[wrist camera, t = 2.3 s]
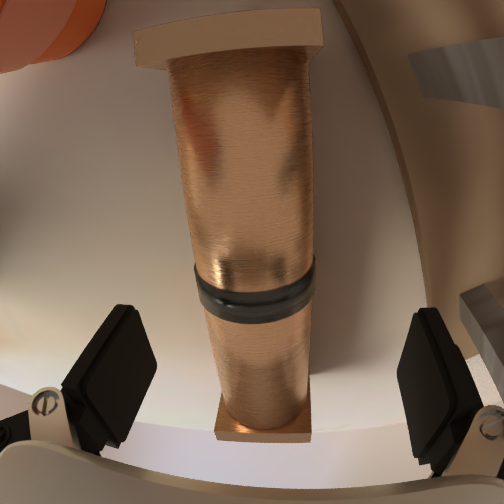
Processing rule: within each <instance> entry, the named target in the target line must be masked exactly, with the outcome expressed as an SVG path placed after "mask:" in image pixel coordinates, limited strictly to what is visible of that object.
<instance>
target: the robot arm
mask: <svg viewBox="0 0 504 504" xmlns="http://www.w3.org/2000/svg"><path fill="white" fill-rule="evenodd" d="M156 370H157V362H156V359H155V357H154V354H153V351H152V349H151V346H150V343H149V340H148V338H147V335H146V332H145V329H144V326H143V323H142V320H141V317H140V314H139V312H138V310H136V309H135V308H134V307H133V306H132V305H123V304H117V305H116V306H115V307H114V308H113V310H112V311H111V312H110V314H109V315H108V317H107V318H106V319H105V321H104V322H103V324H102V325H101V326H100V328H99V329H98V331H97V332H96V333H95V335H94V336H93V338H92V339H91V341H90V342H89V343H88V345H87V346H86V348H85V349H84V351H83V352H82V354H81V355H80V357H79V358H78V360H77V361H76V363H75V364H74V366H73V367H72V369H71V370H70V372H69V373H68V375H67V376H66V378H65V379H64V381H63V382H62V384H61V386H62V389H61V391H60V390H59V389H57V388H54V387H45V388H42V389H40V390H38V391H37V392H36V393H34V394H33V396H32V397H31V399H30V401H29V403H28V410H26V411H24V412H21V413H19V414H16V415H14V416H12V417H9V418H6V419H3V420H1V421H0V504H504V409H503V408H502V407H499V406H496V405H488V406H485V407H484V406H483V403H482V400H481V398H480V395H479V393H478V390H477V388H476V385H475V383H474V380H473V378H472V375H471V373H470V371H469V368H468V366H467V364H466V361H465V359H464V357H463V355H462V353H461V350H460V348H459V347H458V345H456V344H454V342H453V340H452V337H451V335H450V333H449V331H448V329H447V327H446V325H445V323H444V321H443V319H442V317H441V315H440V313H439V311H438V309H437V308H436V307H428V308H420V309H419V310H418V313H414V314H413V317H412V321H411V325H410V328H409V332H408V335H407V339H406V342H405V346H404V349H403V352H402V355H401V358H400V361H399V365H398V368H397V379H398V383H399V388H400V392H401V396H402V401H403V405H404V410H405V415H406V420H407V425H408V430H409V435H410V441H411V446H412V452H413V456H414V458H418V460H419V465H424V464H429V463H430V465H431V470H432V473H431V475H430V476H429V478H428V479H421V480H416V481H409V482H402V483H395V484H385V485H376V486H365V487H352V488H335V489H281V488H262V487H250V486H239V485H230V484H222V483H215V482H207V481H201V480H195V479H189V478H184V477H179V476H174V475H169V474H164V473H160V472H155V471H151V470H147V469H143V468H139V467H135V466H132V465H128V464H124V463H120V462H117V461H114V460H110V459H107V458H106V457H105V454H104V451H103V448H104V446H105V445H107V446H111V447H114V448H117V449H118V448H119V446H120V444H121V442H124V441H125V440H126V438H127V436H128V433H129V431H130V429H131V427H132V424H133V422H134V420H135V417H136V415H137V413H138V411H139V408H140V406H141V404H142V401H143V399H144V397H145V395H146V392H147V390H148V388H149V386H150V384H151V381H152V379H153V377H154V375H155V372H156Z"/></svg>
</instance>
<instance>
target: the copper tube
mask: <svg viewBox="0 0 504 504" xmlns="http://www.w3.org/2000/svg"><path fill="white" fill-rule="evenodd" d="M133 35H134V49H135V61H136V66H137V67H146V68H153V69H160V70H167V71H169V75H170V86H171V95H172V105H173V114H174V122H175V131H176V139H177V147H178V154H179V162H180V169H181V176H182V183H183V190H184V197H185V203H186V210H187V216H188V222H189V228H190V234H191V240H192V246H193V252H194V257H195V265H194V271H195V276H196V282H197V287H198V292H199V297H200V301H201V303H202V305H203V306H204V310H205V315H206V320H207V325H208V330H209V335H210V340H211V344H212V349H213V353H214V358H215V362H216V367H217V371H218V376H219V380H220V384H221V389H222V393H221V398H220V403H219V408H218V413H217V418H216V423H215V428H214V432H215V435H216V438H217V440H223V441H237V442H260V443H306V442H310V441H311V434H312V429H311V400H310V377H309V351H310V333H311V311H312V297H313V295H314V290H315V256H314V254H313V153H312V125H311V104H310V86H309V71H308V63H309V62H310V61H311V60H312V59H313V57H314V56H315V55H316V54H317V53H318V52H319V50H320V49H321V48H322V47H323V46H324V44H323V33H322V22H321V12H320V8H284V9H264V10H250V11H240V12H231V13H223V14H215V15H208V16H202V17H196V18H190V19H185V20H180V21H175V22H170V23H166V24H161V25H157V26H153V27H149V28H145V29H141V30H137V31H134V32H133Z"/></svg>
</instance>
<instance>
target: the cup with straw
mask: <svg viewBox="0 0 504 504" xmlns="http://www.w3.org/2000/svg"><path fill="white" fill-rule="evenodd" d="M105 4H106V0H0V74H2V73H6V72H10V71H15V70H18V69H21V68H23V67H25V66H27V65H28V64H34V63H40V62H47V61H52V60H56V59H60V58H62V57H64V56H66V55H68V54H70V53H71V52H73V51H74V50H75V49H77V48H78V47H79V46H80V45H81V44H82V43H83V42H84V41H85V40H86V39H87V38H88V37H89V35H90V34H91V33H92V31H93V30H94V28H95V27H96V25H97V24H98V22H99V20H100V18H101V15H102V13H103V10H104V7H105Z"/></svg>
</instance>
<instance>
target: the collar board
mask: <svg viewBox="0 0 504 504" xmlns="http://www.w3.org/2000/svg"><path fill="white" fill-rule="evenodd" d="M333 2H334V4H335V6H336V8H337V10H338V11H339V13H340V15H341V17H342V19H343V21H344V23H345V25H346V27H347V29H348V31H349V33H350V36H351V38H352V40H353V42H354V44H355V46H356V48H357V51H358V53H359V55H360V57H361V60H362V62H363V64H364V67H365V69H366V71H367V74H368V76H369V79H370V81H371V84H372V86H373V89H374V91H375V94H376V97H377V99H378V102H379V105H380V107H381V110H382V113H383V116H384V119H385V121H386V124H387V127H388V130H389V133H390V136H391V140H392V143H393V146H394V149H395V152H396V156H397V159H398V163H399V166H400V170H401V173H402V177H403V181H404V184H405V188H406V192H407V196H408V200H409V205H410V209H411V213H412V218H413V222H414V227H415V232H416V237H417V242H418V247H419V253H420V258H421V264H422V270H423V277H424V284H425V291H426V299H427V307H436V308H437V309H438V311H439V313H440V315H441V317H442V319H443V321H444V323H445V325H446V327H447V329H448V331H449V333H450V335H451V337H452V340H453V342H454V344H456V345H458V347H459V348H460V350H461V353H462V355H463V357H464V359H465V360H466V359H468V358H471V357H473V356H475V355H477V354H480V356H481V357H482V359H483V361H484V363H485V365H486V367H487V369H488V371H489V373H490V375H491V377H492V379H493V381H494V383H495V385H496V387H497V389H498V391H499V394H500V396H501V398H502V400H503V402H504V0H333Z"/></svg>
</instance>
